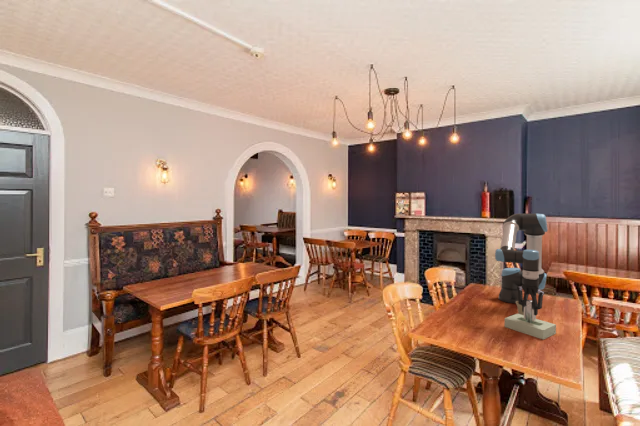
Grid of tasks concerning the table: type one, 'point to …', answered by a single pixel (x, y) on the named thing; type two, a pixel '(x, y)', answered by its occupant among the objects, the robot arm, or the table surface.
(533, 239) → the robot arm
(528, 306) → the pin
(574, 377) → the table surface
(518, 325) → the slot block
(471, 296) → the table surface
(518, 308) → the flower pot
